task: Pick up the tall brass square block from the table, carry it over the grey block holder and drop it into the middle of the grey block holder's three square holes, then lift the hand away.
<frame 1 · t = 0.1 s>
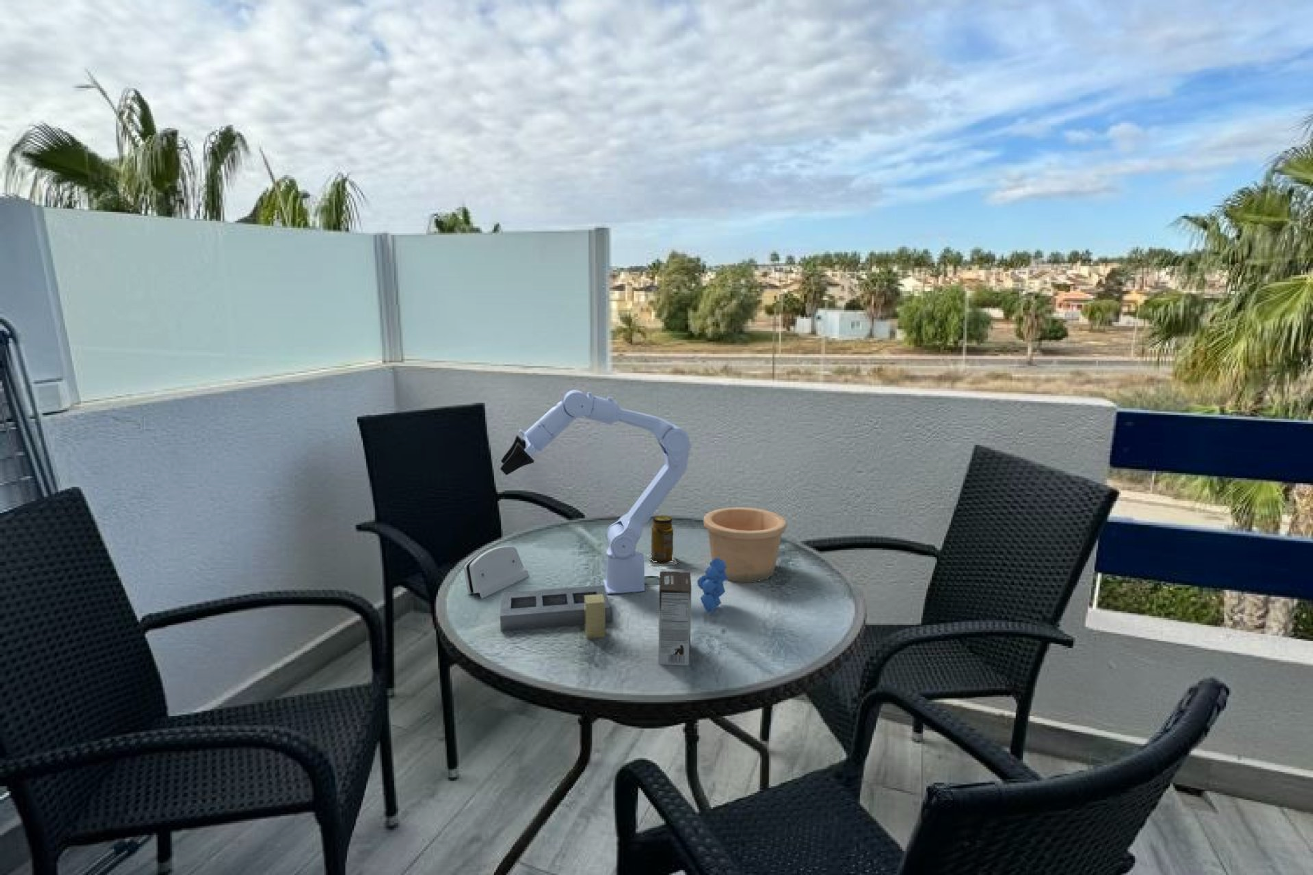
hand: (503, 467, 153), 32 cm above the table, tool tilted 50°, fingers open, 7 cm apart
condiment: (662, 560, 183), on the table
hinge: (495, 584, 167), on the table
pottery: (742, 570, 177), on the table
brass block: (594, 633, 142), on the table
coffee box: (674, 654, 134), on the table
grapes: (709, 608, 155), on the table
grey block holder: (555, 613, 150), on the table
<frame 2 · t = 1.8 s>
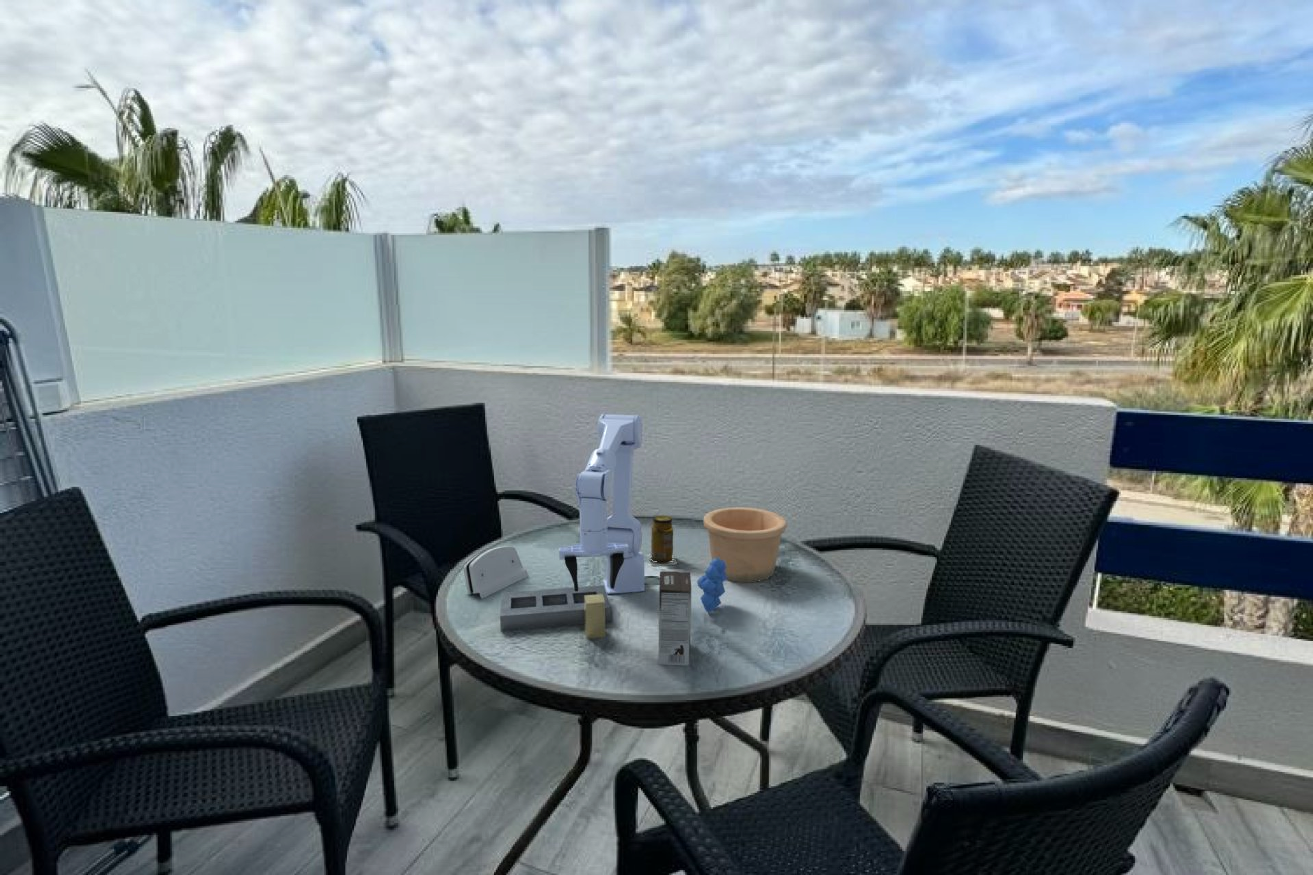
hand: (594, 588, 140), 10 cm above the table, tool pointing down, fingers open, 7 cm apart
nothing on the table moved.
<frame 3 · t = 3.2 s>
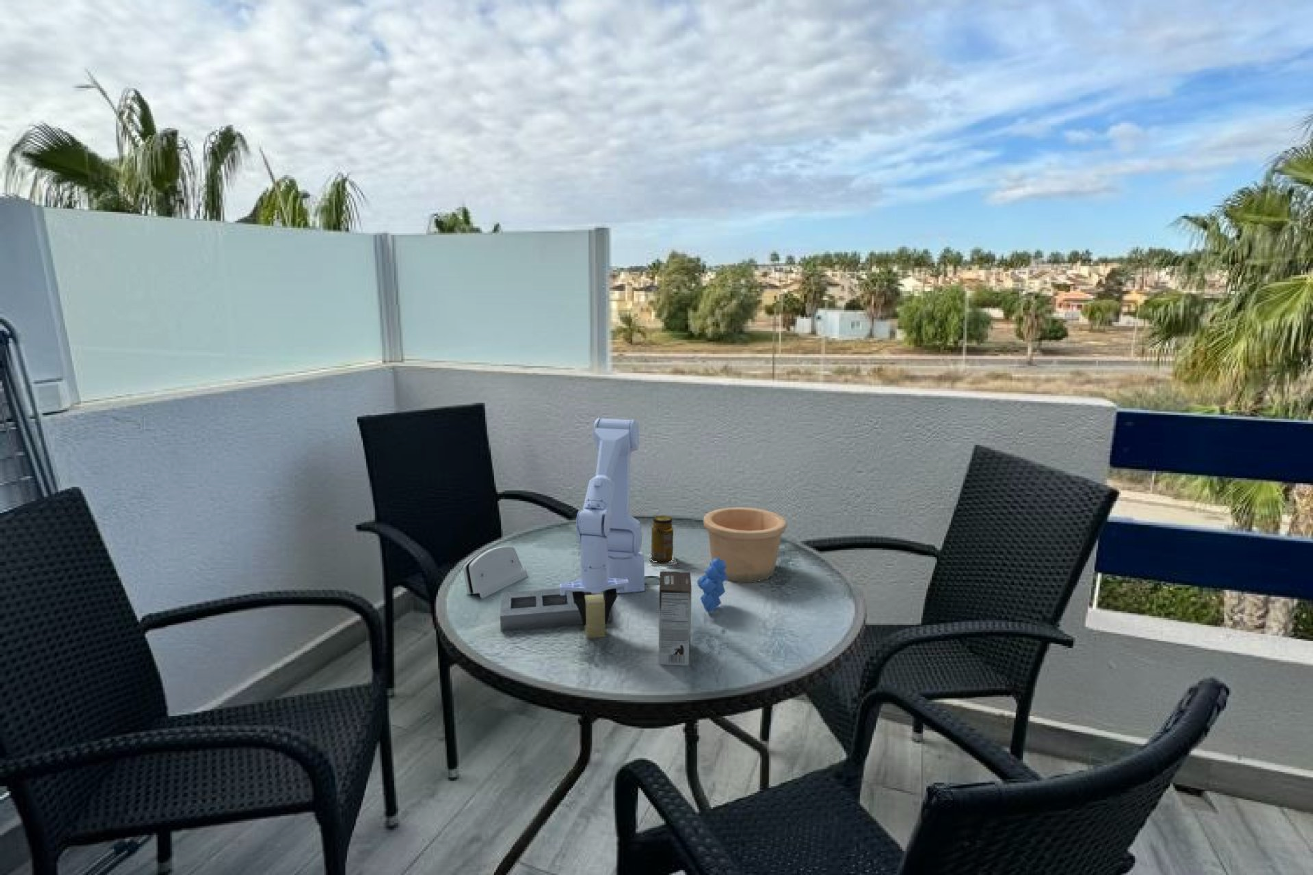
hand: (594, 622, 141), 2 cm above the table, tool pointing down, fingers closed on brass block, 4 cm apart
brass block: (594, 632, 142), on the table, touching gripper
everything else where it was.
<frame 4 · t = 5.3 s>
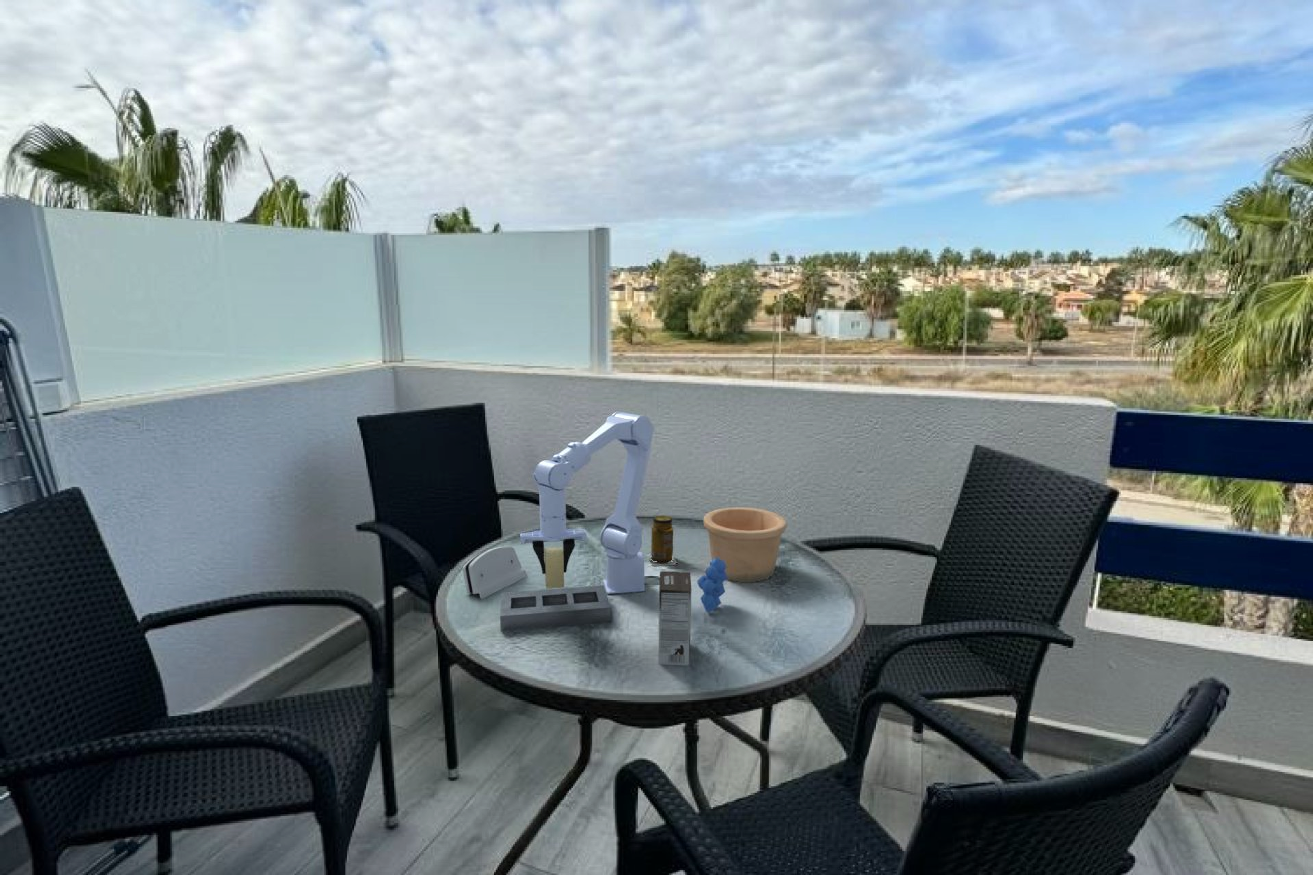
hand: (554, 571, 148), 10 cm above the table, tool pointing down, fingers closed on brass block, 4 cm apart
brass block: (554, 584, 149), point 7 cm above the table, touching gripper
everything else where it was.
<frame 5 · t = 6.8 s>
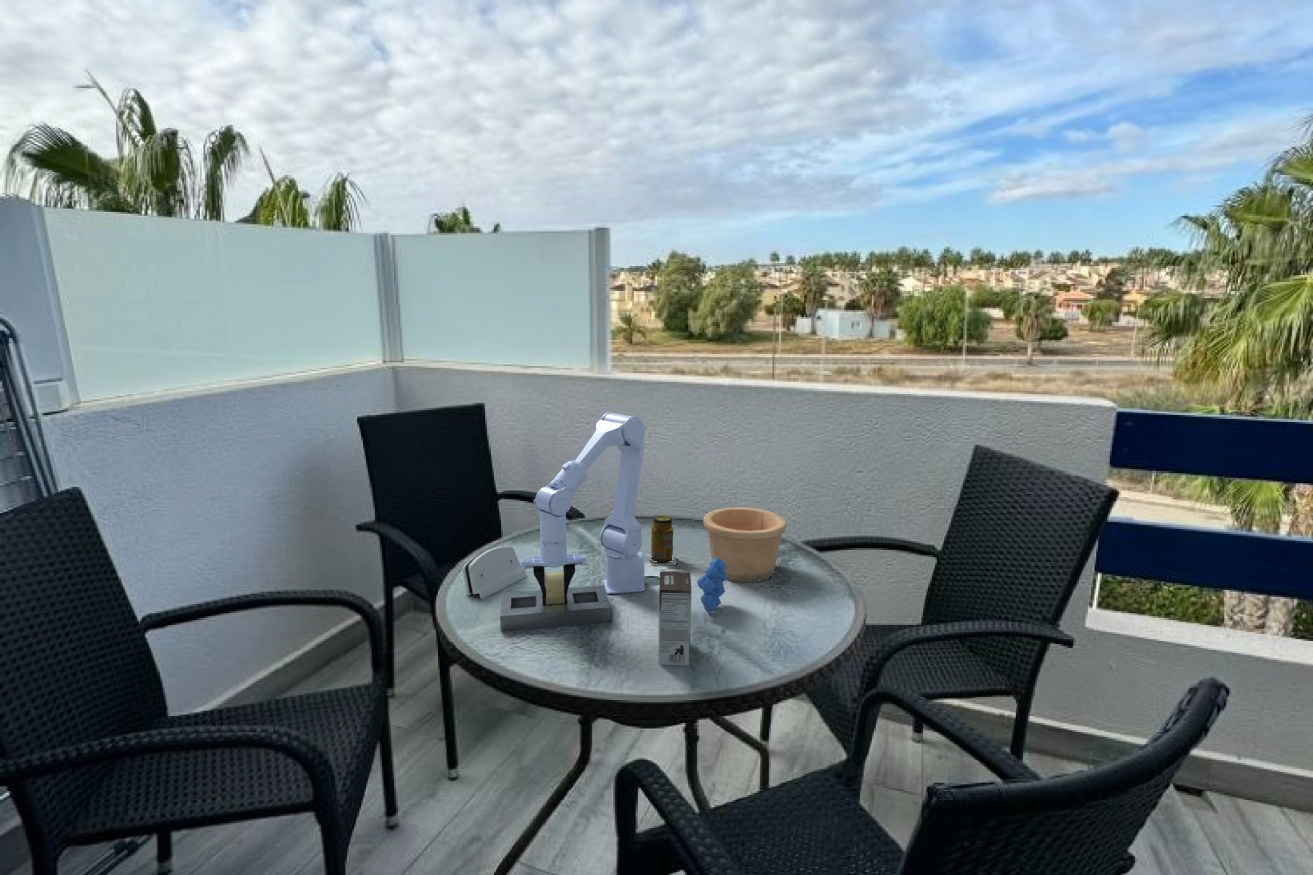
hand: (554, 596, 149), 4 cm above the table, tool pointing down, fingers closed on brass block, 4 cm apart
brass block: (555, 608, 150), point 1 cm above the table, touching gripper
everything else where it was.
when the fingers open (4 cm above the table, at t = 7.8 s): brass block drops 2 cm, resting in grey block holder.
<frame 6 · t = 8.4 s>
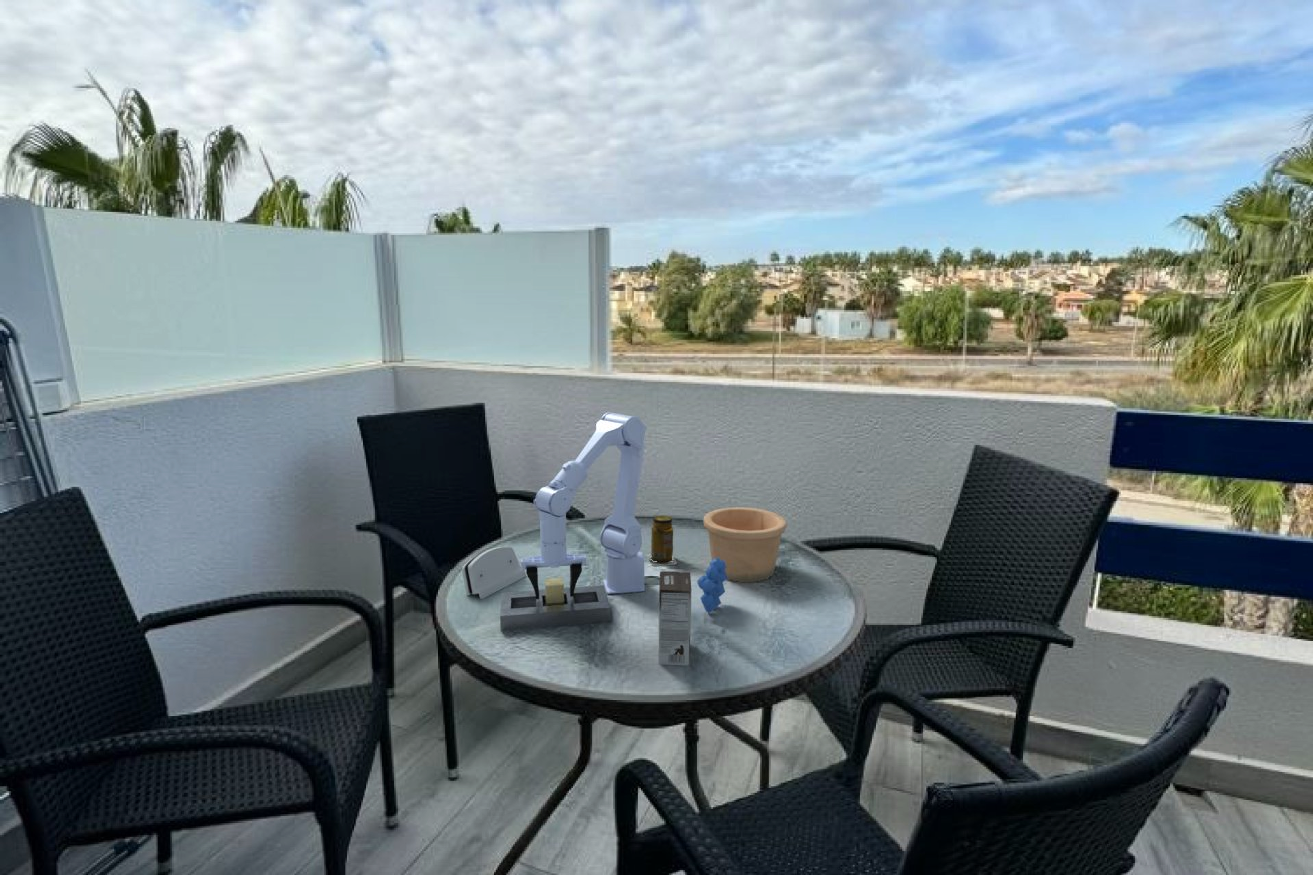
hand: (554, 596, 149), 4 cm above the table, tool pointing down, fingers open, 7 cm apart
brass block: (555, 614, 150), resting in grey block holder
everything else where it was.
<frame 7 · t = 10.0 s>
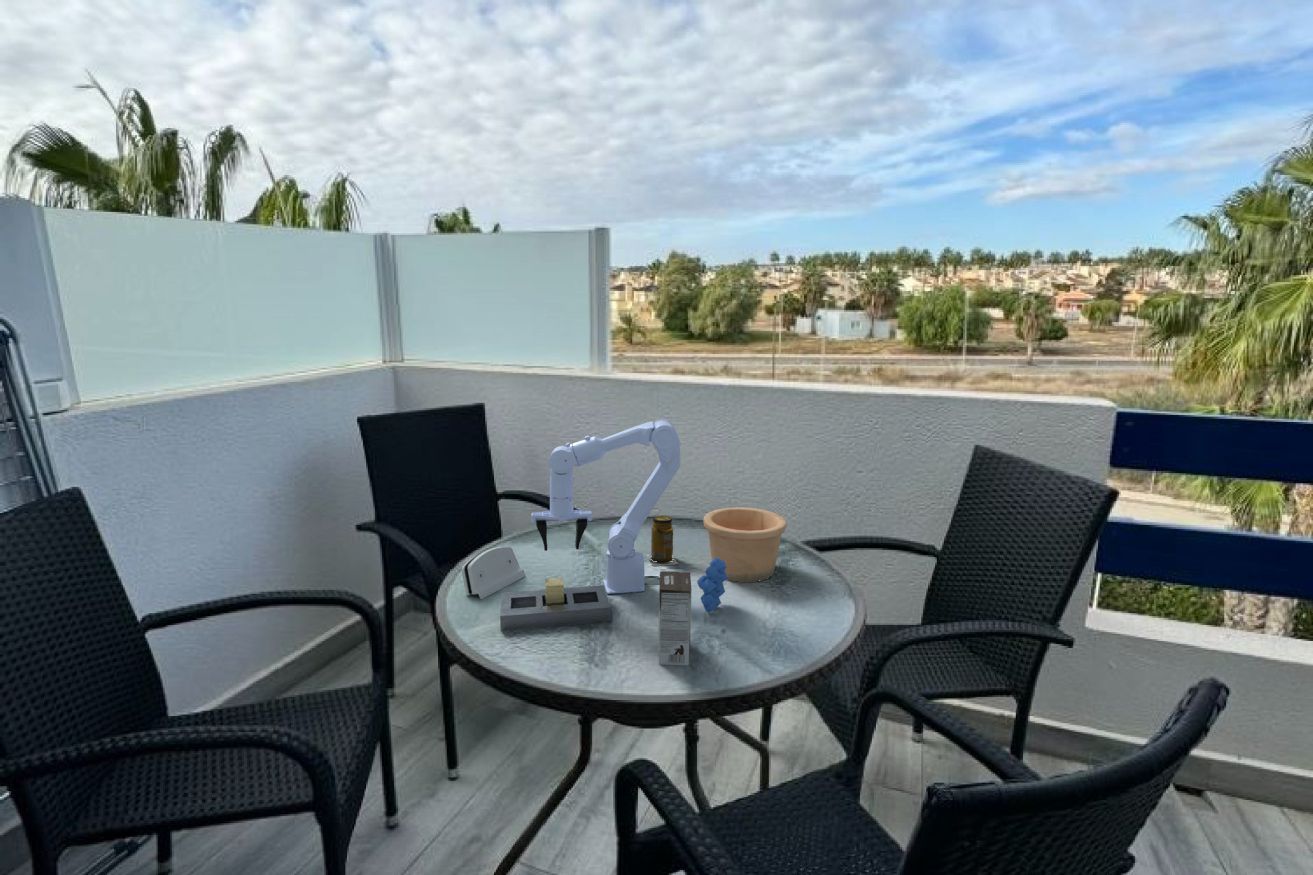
hand: (561, 548, 162), 10 cm above the table, tool pointing down, fingers open, 7 cm apart
nothing on the table moved.
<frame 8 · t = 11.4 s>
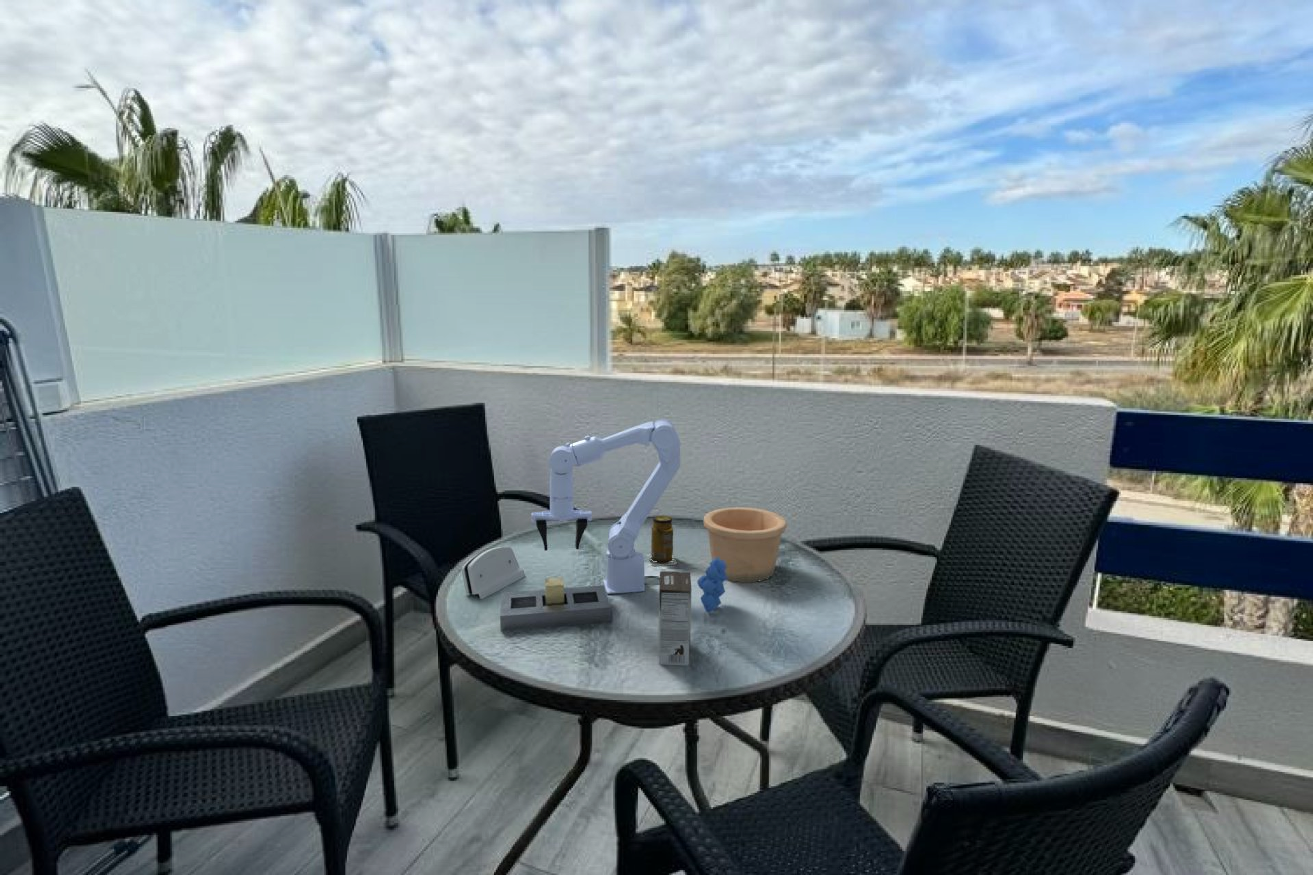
hand: (561, 548, 162), 10 cm above the table, tool pointing down, fingers open, 7 cm apart
nothing on the table moved.
at the end: brass block 0.2 cm off-centre on the grey block holder, point 0.0 cm above the grey block holder's base; brass block tilted 0°; the gripper is holding nothing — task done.
